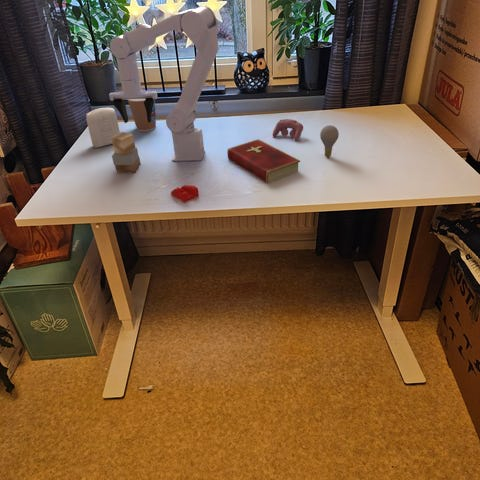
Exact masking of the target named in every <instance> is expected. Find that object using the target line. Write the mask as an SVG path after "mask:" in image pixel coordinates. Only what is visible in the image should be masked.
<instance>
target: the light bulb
mask: <svg viewBox="0 0 480 480" xmlns="http://www.w3.org/2000/svg"><path fill="white" fill-rule="evenodd" d="M319 136H320V140H321V142H322V144H323V145H324V146H323V147H324V156H325V157H326V158H329V157H331V156H332V152H333V147H334V146H335V144H336V142H337V141H338V139H339V137H340V134H339V130H338V128H337V127H336V126H334V125H331V124H330V125H326V126H324V127H323V128H322V129H321V130H320V134H319Z"/></svg>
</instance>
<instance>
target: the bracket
mask: <svg viewBox="0 0 480 480" xmlns="http://www.w3.org/2000/svg"><path fill="white" fill-rule="evenodd" d="M170 195H171V196H173V197H174V198H176V199H178V200H179V201H181V202H182V203H185V204H186V203H187V202H189V201H192V200H195V199H196V198H199V196H200V195H199V187H197V186H195V185H187V184H183V185H181V186H180V187H179V186H178V187H176V188H174V189H173V190H171V191H170Z"/></svg>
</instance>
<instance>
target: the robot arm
mask: <svg viewBox="0 0 480 480" xmlns="http://www.w3.org/2000/svg"><path fill="white" fill-rule="evenodd" d="M218 24H219V21H218V19H217V17H216V15H215V12H214V11H213V10H212V8H210V7H209V6H206V5H200V6H198V7H197V8H190V9H187V10H184V11H180V12H178V13H175V14H172V15H171V16H169V17H167V18H165V19H163V20H161V21H159V22H158V23H155V24H153V25H149V24H147V23H141V22H140V23H138V24H135V28H133V29H131V30H125V31H123V32H122V33H123V34H121V35H118V36H114V38H112V39H111V41H110V43H109V48H110V52H111V53H112V55H113V56H114V57H115V59H116V62H117V63H116V64H117V68H118V74H119V79H120V82H121V88H122V91H114V92H110V93H109V94H108V96H109V100H110V101H113V103H112V104H113V106H114V108H115V109H116V110H117V112H118V113H119V115H121V119H122V120H123V122H124V124H127V123H128V122H129V117H128V112H127V108H126V107H127V105H126V100H127V99H146V100H145V101H144V105H145V109H146V113H147V120H148V122H151V121H152V108H153V104H154V100H157V99H158V92H157V91H156V90H144V89H142V83H141V77H140V72H139V65H138V60H137V53H138V52H140V51H143V50H145V49H147V48H149V47H151V46H154V45H155V43H156V41H157V38H159V37H161V36H163V35H166V34H169V33H170V32H173V31H177V32H179V33H184V34H185V35H186V36H187V38H188V39H189V40H190V42H192V44H193V45H194V46H195V49H196V51H197V52H196V55H195V58H194V60H193V63H192V66H191V68H190V70H189V72H188V76H187V78H186V81H185V84H184V86H183V88H182V91H181V94H180V96H179V99H178V101H177V102H176V104H175V105H174V107H173V108H172V111H171V112H170V113H169V114H168V115H167V116H166V118H165V119H166V120H165V123H166V127H167V129H169V131H170V132H171V137H172V144H173V150H174V151H173V152H174V153H173V156H172V159H171V161H172V162H178V161H179V162H180V161H181V162H182V161H184V162H185V161H202V160H203V156H204V153H205V146H204V136H203V130H202V129H201V128H196V127H195V125H194V124H195V123H194V122H195V121H196V119H197V110H198V109H197V108H198V104H197V102H198V101H199V98H200V96H201V94H202V91H203V88H204V86H205V84H206V82H207V79H208V76H209V74H210V71H211V70H212V67H213V63H214V62H215V59H216V57H217V54H218V52H219V42H218V41H219V40H218V37H219V36H218Z"/></svg>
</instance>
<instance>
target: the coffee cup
mask: <svg viewBox="0 0 480 480" xmlns="http://www.w3.org/2000/svg"><path fill="white" fill-rule="evenodd" d="M126 100H127V102H128V104H129V105H128V106H129V108H130V111H131V115H132V118H133V122H134V124H135V127H136V129H137V130H138V131H140V132H148V131H152V130H155V128H156V127H157V126H156V124H157V117H156V114H157V113H156V101H155V100H156V99H155V100H154V104H153V108H152V121H151V122H148V120H147V113H146V109H145V105H144V101H145V100H146V99H126Z"/></svg>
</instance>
